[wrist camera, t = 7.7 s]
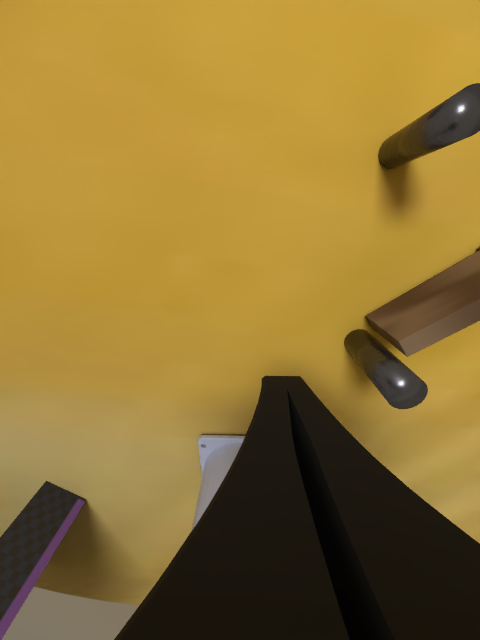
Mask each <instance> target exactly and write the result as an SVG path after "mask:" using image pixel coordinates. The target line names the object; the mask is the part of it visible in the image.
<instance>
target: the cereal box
mask: <svg viewBox="0 0 480 640" xmlns="http://www.w3.org/2000/svg"><path fill="white" fill-rule="evenodd" d="M85 501H86V499H84V498H82V497H80V496H78V495H76V494H74V493H71V492H69V491H67V490H65V489H63V488H61V487H58V486H56V485H54V484H52V483H50V482H48V481H46V482H45V483H44V484H43V486H42V487H41V488H40V489H39V490H38V492H37V493H36V494H35V495H34V497H33V498H32V499H31V500H30V502H29V503H28V504H27V505H26V507H25V508H24V509H23V510H22V511H21V513H20V514H19V515H18V516H17V518H16V519H15V520H14V521H13V523H12V524H11V525H10V526H9V528H8V529H7V530H6V531H5V532H4V534H3V535H2V536H1V537H0V640H1V639H2V638H3V636H4V635H5V633H6V631H7V630H8V628H9V626H10V625H11V623H12V621H13V619H14V618H15V616H16V615H17V613H18V611H19V610H20V608H21V607H22V605H23V603H24V601H25V600H26V598H27V597H28V595H29V593H30V592H31V590H32V588H33V587H34V585H35V583H36V582H37V580H38V578H39V577H40V575H41V574H42V572H43V570H44V569H45V567H46V565H47V564H48V562H49V560H50V559H51V557H52V555H53V554H54V552H55V550H56V549H57V547H58V546H59V544H60V542H61V541H62V539H63V537H64V536H65V534H66V532H67V531H68V529H69V527H70V526H71V524H72V522H73V521H74V519H75V518H76V516H77V514H78V513H79V511H80V509H81V508H82V506H83V504H84V503H85Z"/></svg>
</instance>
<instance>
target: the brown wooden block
mask: <svg viewBox="0 0 480 640" xmlns="http://www.w3.org/2000/svg"><path fill="white" fill-rule="evenodd" d="M366 317H367V319H368V321H369V322H370V324H371V326H372V327H373V329H374V330H376V331H377V332H378V333H379V334H380V335H382V336H383V337H384V338H385V339H386V340H388V341H389V342H390V343H391V344H392V345H394V346H395V347H396V348H397V349H398V350H400V351H401V352H402V353H403V354H404V355H406V356H407V357H408V356H410V355H412V354H414V353H416V352H418V351H420V350H422V349H424V348H426V347H428V346H430V345H432V344H434V343H436V342H438V341H440V340H442V339H444V338H446V337H448V336H450V335H452V334H454V333H456V332H458V331H460V330H462V329H464V328H466V327H468V326H470V325H472V324H474V323H476V322H478V321H480V250H479V251H478V252H476V253H474V254H472V255H471V256H469V257H467V258H465V259H464V260H462V261H460V262H458V263H457V264H455V265H453V266H451V267H450V268H448V269H446V270H445V271H443V272H441V273H439V274H438V275H436V276H434V277H432V278H431V279H429V280H427V281H425V282H424V283H422V284H420V285H418V286H417V287H415V288H413V289H411V290H410V291H408V292H406V293H405V294H403V295H401V296H399V297H398V298H396V299H394V300H392V301H391V302H389V303H387V304H385V305H384V306H382V307H380V308H378V309H377V310H375V311H373V312H372V313H370V314H368V315H366Z"/></svg>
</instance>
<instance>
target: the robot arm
mask: <svg viewBox="0 0 480 640" xmlns="http://www.w3.org/2000/svg"><path fill="white" fill-rule="evenodd" d="M198 447H199V456H200V464H201V473H202V481H201V486H200V492H199V497H198V502H197V507H196V512H195V517H194V522H193V527H192V532H191V533H190V535H189V536H188V537H187V539H186V540H185V542H184V543H183V545H182V546H181V548H180V549H179V551H178V552H177V554H176V555H175V557H174V558H173V560H172V561H171V563H170V564H169V566H168V567H167V569H166V570H165V572H164V573H163V574H162V576H161V577H160V579H159V580H158V581H157V583H156V584H155V586H154V587H153V588H152V590H151V591H150V592H149V594H148V595H147V596H146V598H145V599H144V600H143V602H142V603H141V604H140V606H139V607H138V608H137V610H136V611H135V613H134V614H133V615H132V617H131V618H130V619H129V621H128V622H127V623H126V625H125V626H124V627H123V629H122V630H121V631H120V633H119V634H118V635H117V637H116V638H115V639H114V640H480V544H479V543H478V542H477V541H475V540H474V539H473V538H471V537H470V536H469V535H467V534H466V533H465V532H464V531H462V530H461V529H460V528H458V527H457V526H456V525H455V524H453V523H452V522H451V521H450V520H448V519H447V518H446V517H444V516H443V515H442V514H441V513H439V512H438V511H437V510H436V509H434V508H433V507H432V506H431V505H429V504H428V503H427V502H425V501H424V500H423V499H422V498H421V497H419V496H418V495H417V494H416V493H415V492H413V491H412V490H411V489H410V488H409V487H407V486H406V485H405V484H404V483H403V482H402V481H400V480H399V479H398V478H397V477H396V476H395V475H394V474H392V473H391V472H390V471H389V470H388V469H387V468H386V467H384V466H383V465H382V464H381V463H380V462H379V461H378V460H377V459H376V458H375V457H373V456H372V455H371V454H370V453H369V452H368V451H367V450H366V449H365V448H364V447H363V446H362V445H361V444H360V443H359V442H358V441H357V440H356V439H355V438H354V437H353V436H352V435H351V434H350V433H349V432H348V431H347V430H346V429H345V428H344V427H343V426H342V425H341V423H340V422H339V421H338V420H337V419H336V418H335V417H334V416H333V415H332V414H331V412H330V411H329V410H328V409H327V408H326V407H325V406H324V405H323V403H322V402H321V401H320V400H319V399H318V397H317V396H316V395H315V394H314V393H313V391H312V390H311V389H310V388H309V387H308V385H307V384H306V383H305V382H304V380H303V379H302V378H301V377H300V376H265V377H263V378H262V388H261V393H260V397H259V401H258V404H257V407H256V410H255V413H254V416H253V419H252V421H251V424H250V426H249V429H248V431H247V433H246V436H231V435H201V436H199V438H198Z"/></svg>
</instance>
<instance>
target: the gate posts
mask: <svg viewBox="0 0 480 640" xmlns="http://www.w3.org/2000/svg"><path fill="white" fill-rule="evenodd" d="M478 131H480V83H476V84H472V85H469V86H467V87H465V88H464V89H462V90H461V91H459V92H458V93H456V94H455V95H453V96H452V97H450V98H449V99H447V100H445V101H444V102H442V103H441V104H439V105H438V106H436V107H435V108H433V109H432V110H430V111H429V112H427V113H426V114H424V115H423V116H421V117H419V118H418V119H416V120H415V121H413V122H412V123H410V124H409V125H407V126H406V127H404V128H403V129H401V130H400V131H398V132H397V133H395V134H394V135H392V136H390V137H389V138H388V139H386V140H385V141H384V142H383V144H382V145H381V147H380V150H379V161H380V163H381V165H382V166H383V167H385V168H388V169H392V168H395V167H398V166H400V165H403V164H405V163H407V162H410V161H412V160H415V159H417V158H419V157H422V156H424V155H427V154H429V153H431V152H434V151H436V150H439V149H441V148H443V147H446V146H448V145H451V144H453V143H455V142H458V141H460V140H463V139H465V138H467V137H470V136H472V135H474V134H476V133H477V132H478ZM344 345H345V348H346V349H347V350H348V352H349V353H350V354H351V355H352V357H353V358H354V359H355V361H356V362H357V363H358V364H359V366H360V367H361V368H362V369H363V371H364V372H365V373H366V375H367V376H368V377H369V378H370V380H371V381H372V382H373V384H374V385H375V386H376V387H377V389H378V390H379V391H380V393H381V394H382V395H383V396H384V398H385V399H386V400H387V401H388V403H389V404H390V405H391V406H393V407H395V408H398V409H408V408H412V407H414V406H416V405H418V404H420V403H421V402H422V401H423V400H424V399H425V397H426V395H427V392H428V388H427V385H426V384H425V382H424V381H422V380H421V379H420V378H419V377H418V376H417V375H416V374H415V373H413V372H412V371H411V370H410V369H409V368H408V367H407V366H406V365H405V364H403V363H402V362H401V361H400V360H399V359H398V358H397V357H396V356H394V355H393V354H392V353H391V352H390V351H389V350H388V349H387V348H386V347H384V346H383V345H382V344H381V343H380V342H379V341H378V340H377V339H376V338H374V337H373V336H372V335H371V334H370V333H369V332H368V331H366V330H362V329H358V330H354V331H352V332H350V333H349V334H348V335H347V336H346V338H345V341H344Z"/></svg>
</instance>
